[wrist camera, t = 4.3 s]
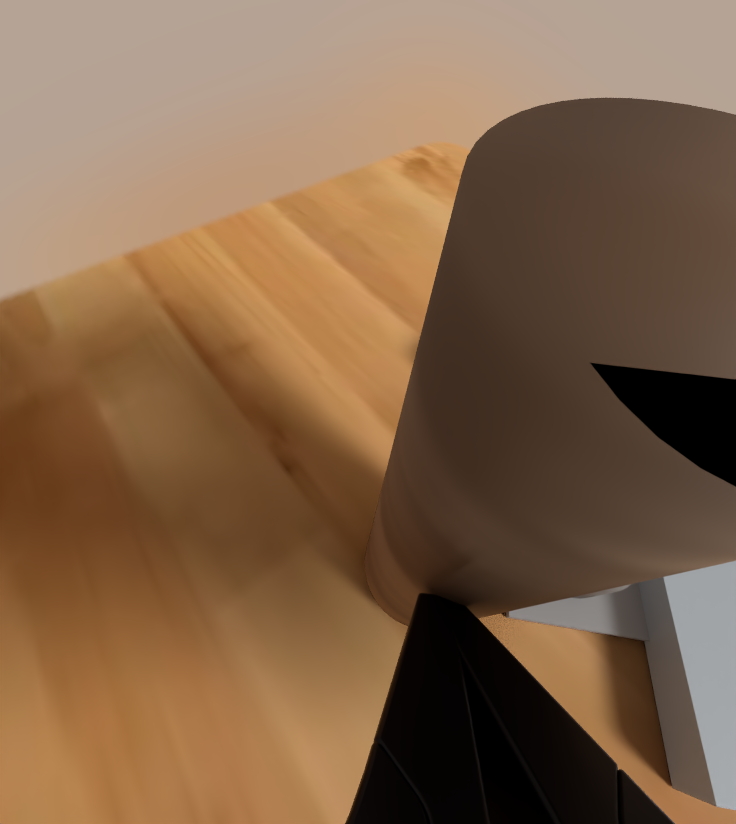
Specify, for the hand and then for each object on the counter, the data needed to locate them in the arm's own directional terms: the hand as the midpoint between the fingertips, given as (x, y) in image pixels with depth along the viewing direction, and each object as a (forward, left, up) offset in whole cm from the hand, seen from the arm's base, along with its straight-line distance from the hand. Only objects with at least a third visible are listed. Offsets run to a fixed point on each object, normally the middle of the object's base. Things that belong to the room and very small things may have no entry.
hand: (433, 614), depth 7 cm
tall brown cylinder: (+4, 0, -6) cm, 7 cm away
